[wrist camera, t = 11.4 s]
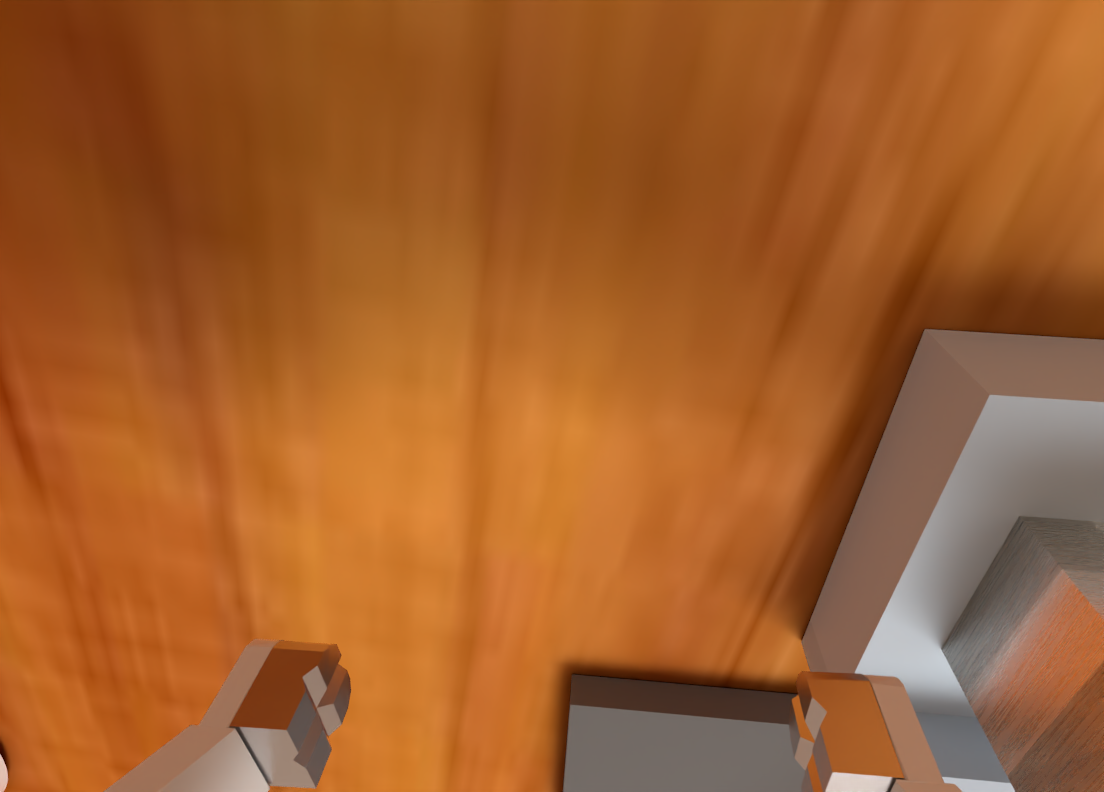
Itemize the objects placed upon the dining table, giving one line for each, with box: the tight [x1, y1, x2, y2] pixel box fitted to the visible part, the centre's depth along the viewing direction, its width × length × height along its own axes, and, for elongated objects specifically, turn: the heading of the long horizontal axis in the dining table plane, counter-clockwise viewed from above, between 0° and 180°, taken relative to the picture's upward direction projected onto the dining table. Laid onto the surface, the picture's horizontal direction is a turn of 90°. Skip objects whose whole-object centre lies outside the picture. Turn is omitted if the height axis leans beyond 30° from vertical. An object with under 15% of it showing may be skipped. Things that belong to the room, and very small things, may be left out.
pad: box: [563, 674, 805, 792], centre depth 21 cm, size 9×8×1 cm
